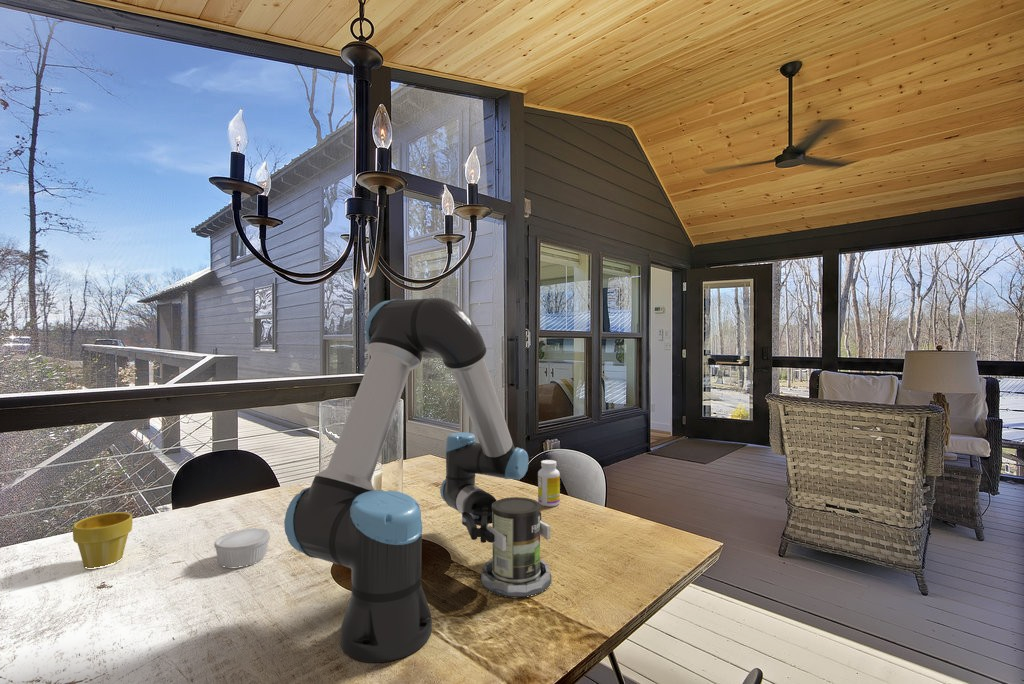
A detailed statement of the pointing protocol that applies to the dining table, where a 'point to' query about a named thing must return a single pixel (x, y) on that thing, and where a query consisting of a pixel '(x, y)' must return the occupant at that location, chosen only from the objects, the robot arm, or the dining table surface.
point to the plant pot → (102, 538)
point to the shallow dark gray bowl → (515, 588)
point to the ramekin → (242, 547)
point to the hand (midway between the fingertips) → (527, 538)
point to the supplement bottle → (548, 484)
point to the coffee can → (517, 539)
